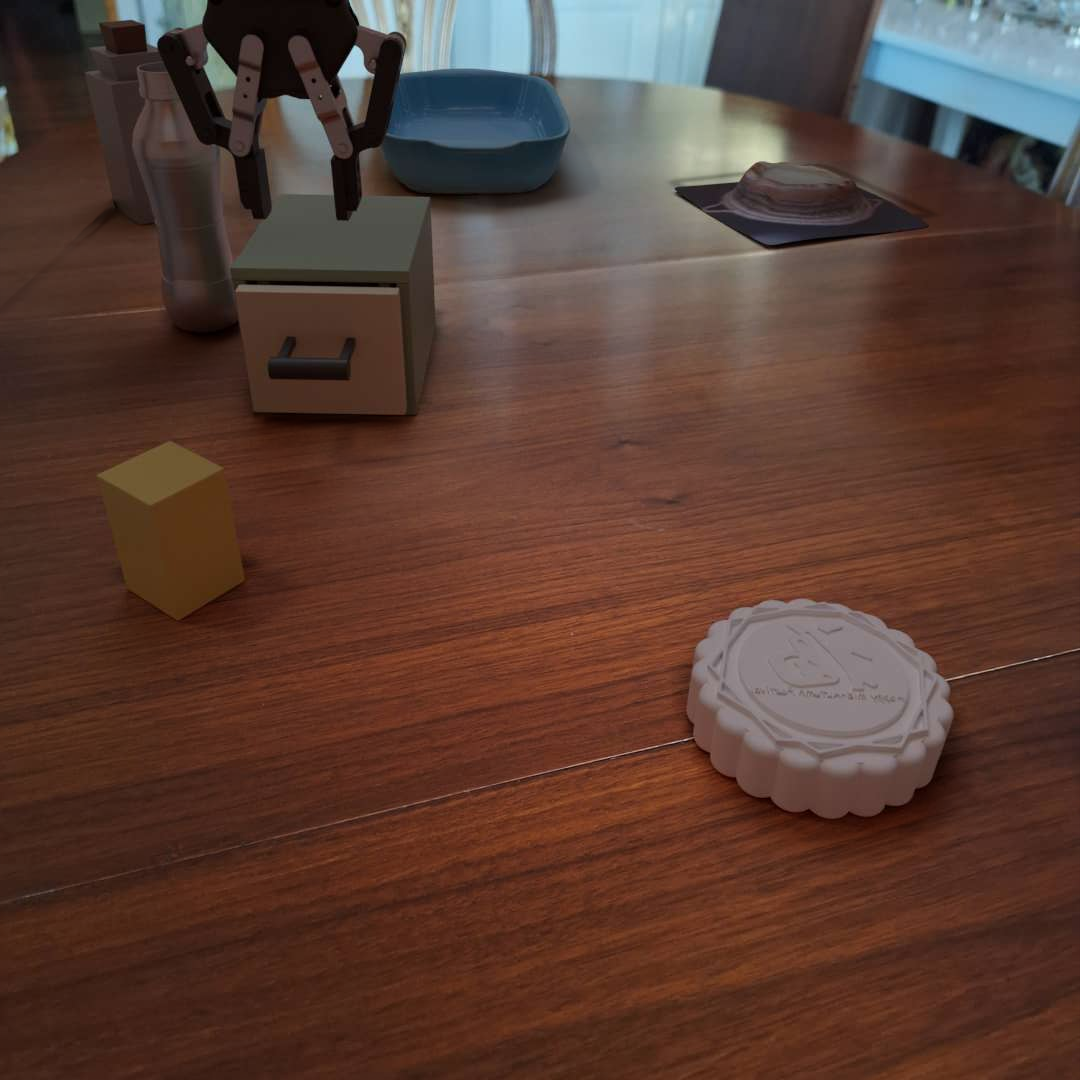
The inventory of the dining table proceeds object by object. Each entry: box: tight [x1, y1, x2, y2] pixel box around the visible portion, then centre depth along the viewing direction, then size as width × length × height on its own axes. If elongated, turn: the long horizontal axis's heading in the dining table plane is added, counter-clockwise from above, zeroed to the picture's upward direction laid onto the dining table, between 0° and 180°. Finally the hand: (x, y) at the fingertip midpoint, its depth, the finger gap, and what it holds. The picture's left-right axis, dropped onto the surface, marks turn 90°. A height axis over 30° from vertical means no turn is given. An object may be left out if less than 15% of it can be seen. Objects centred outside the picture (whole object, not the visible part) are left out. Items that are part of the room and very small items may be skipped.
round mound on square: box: [674, 160, 929, 246], centre depth 114 cm, size 21×20×4 cm
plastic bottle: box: [132, 62, 239, 333], centre depth 81 cm, size 6×7×20 cm
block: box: [96, 440, 246, 621], centre depth 56 cm, size 5×5×8 cm
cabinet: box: [230, 193, 437, 416], centre depth 78 cm, size 16×12×11 cm
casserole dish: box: [380, 68, 571, 195], centre depth 125 cm, size 37×22×7 cm, turn 5°
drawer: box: [235, 281, 407, 416], centre depth 74 cm, size 20×11×9 cm, turn 0°
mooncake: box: [686, 598, 955, 820], centre depth 49 cm, size 12×12×4 cm
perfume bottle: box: [84, 19, 163, 226], centre depth 105 cm, size 7×7×18 cm
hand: (303, 214), depth 63 cm, fingers open, 4 cm apart
